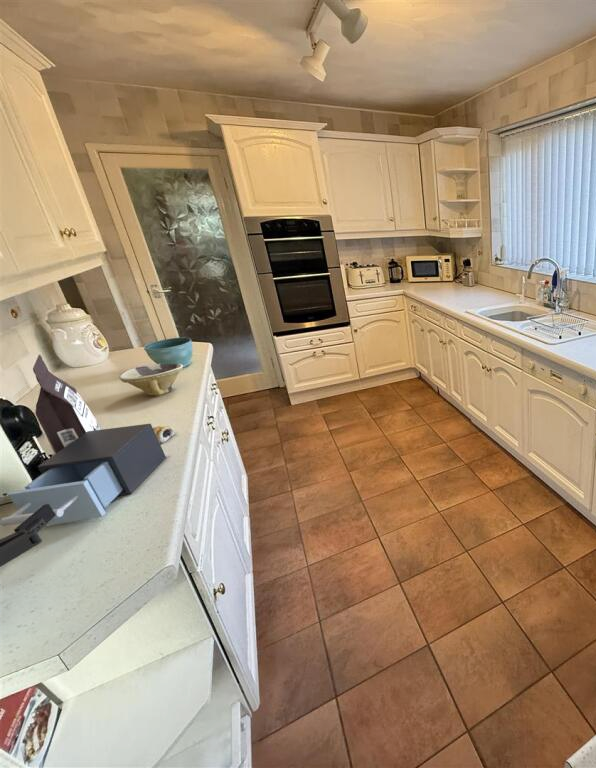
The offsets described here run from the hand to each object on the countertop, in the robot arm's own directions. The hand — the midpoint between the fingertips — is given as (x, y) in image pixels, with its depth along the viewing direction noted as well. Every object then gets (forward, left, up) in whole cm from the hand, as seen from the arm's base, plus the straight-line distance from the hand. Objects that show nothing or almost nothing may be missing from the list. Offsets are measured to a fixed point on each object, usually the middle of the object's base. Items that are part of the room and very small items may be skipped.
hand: (4, 516), depth 72 cm
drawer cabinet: (0, +26, -11) cm, 28 cm away
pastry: (-1, +46, -11) cm, 47 cm away
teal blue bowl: (-27, +117, -11) cm, 120 cm away
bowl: (-18, +86, -11) cm, 88 cm away
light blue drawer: (0, +13, -10) cm, 16 cm away
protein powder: (-16, +42, -11) cm, 46 cm away
